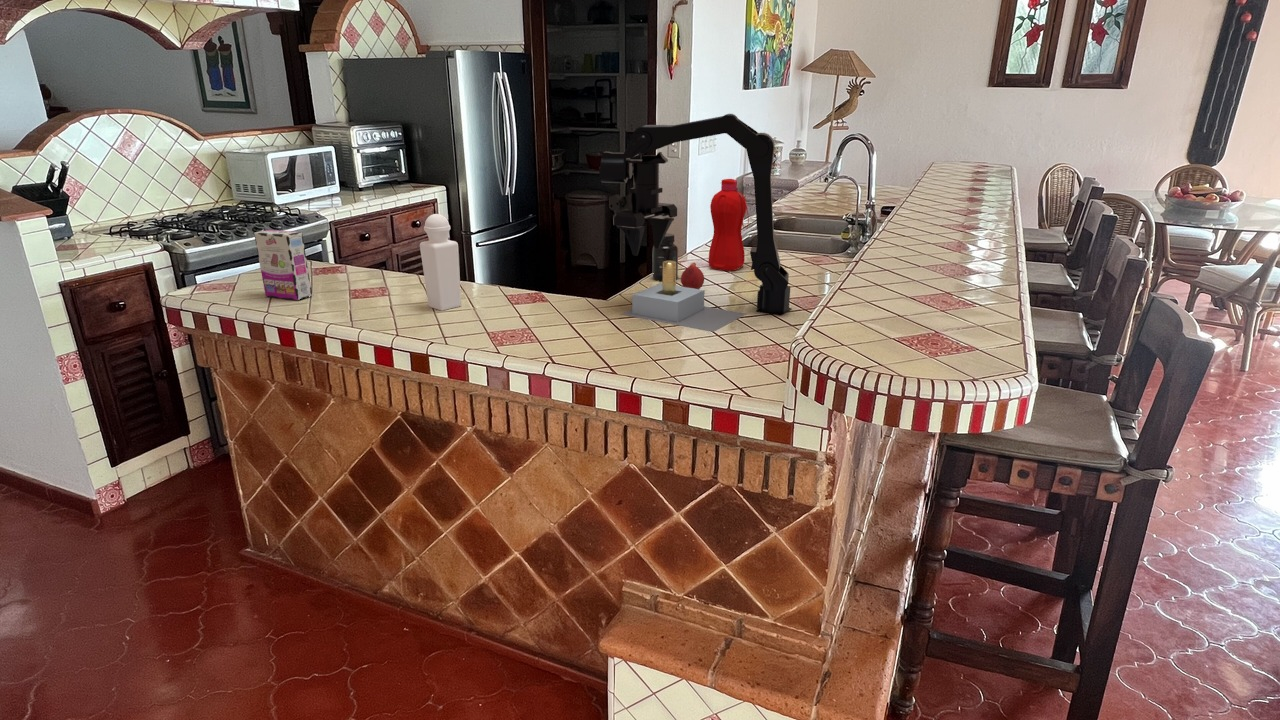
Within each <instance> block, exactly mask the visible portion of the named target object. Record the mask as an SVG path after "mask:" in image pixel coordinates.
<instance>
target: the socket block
mask: <svg viewBox="0 0 1280 720" xmlns="http://www.w3.org/2000/svg"><path fill="white" fill-rule="evenodd" d="M662 288H663V282H662V283H658V284H655V285H653V286H650V287H647V288H645V289H642V290H640V291H637V292H635V293H632V295H631V300H632V301H631V302H632V306H631V309H632V313H633V314H638V315H643V316H649V317H654V318H659V319H665V320H670V321H675V322H678V321H680V320H682V319H684V318H686V317H689V316H691V315H693V314H695V313H697V312H699V311H701V310H703V309H704V306H705V290H704V289H701V288H700V289H693V288H687V287H683V286H681V285H676V294H675V295H673V296H670V295H664V294H662Z"/></svg>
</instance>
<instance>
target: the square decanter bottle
mask: <svg viewBox="0 0 1280 720" xmlns="http://www.w3.org/2000/svg"><path fill="white" fill-rule="evenodd" d="M450 230H451V225H450V223H449V221H448V219H447V217H445V216H444V215H442V214H440V213H434V214H430V215H429V216H428V217H427V218H426V220H425V222H424V226H423V231H424V232H425V233H426V236H427V237H428V240H425V241H421V242H420V243H419V250H420V256H421V261H422V262H421V263H422V269H423V276H424V283H425V290H426V297H427V302H428V307H429V308H432V309H435V310H438V311H442V312H444V311H447V310H450V309H451V308H452V309H456V308H459V306H460V307H461V306H462V297H461V295H462V293H461V277H460V275H461V274H460V254H459V244H458V242H457V241H456V240H450V239H449V233H450ZM455 307H456V308H455Z"/></svg>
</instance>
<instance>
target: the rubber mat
mask: <svg viewBox="0 0 1280 720" xmlns="http://www.w3.org/2000/svg"><path fill="white" fill-rule="evenodd" d="M620 315H621V316H627V317H632V318H637V319H643V320H648V321H652V322H653V321H654V322H657V323H663V324H669V325H674V326H678V327H679V326H680V327H684V328H690V329H696V330H701V331H704V332H705V331H706V332H711V333H714V332H716V331H718V330H720V329H723V328H724V327H726V326H727V325H729V324H731V323H733V322H734V321H736V320H738V319H740V318H741V317H743V316H745V315H747V313H746V312H740V311H733V310H729V309H722V308H717V307H716V308H715V307H712V306H711V307H710V306H705V305H704V309H703V310H701V311H699V312H697V313H695V314H693V315H691V316H689V317H686V318H684V319H682V320H680V321H678V322H675V321H670V320H665V319H659V318H654V317H649V316H643V315H638V314H633V313H632V308H631V309H628V310H627V311H625V312H622V313H620Z"/></svg>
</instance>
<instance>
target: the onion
mask: <svg viewBox="0 0 1280 720" xmlns="http://www.w3.org/2000/svg"><path fill="white" fill-rule="evenodd" d="M704 283H705V275H704V273H703V271H702V269H700V268H699V267H697V263H696V262H695V261H694V262H693V261H692V262H691V263H690V265H689V266H687V267H686V268H685V269H684V270H683V271H682V273H681V277H680V284H681V285H682V286H681V287H687V288H693V289H700V290H701V288H702V287H703V285H704Z"/></svg>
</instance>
